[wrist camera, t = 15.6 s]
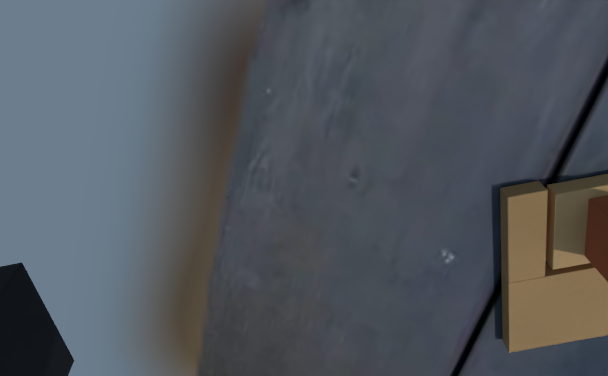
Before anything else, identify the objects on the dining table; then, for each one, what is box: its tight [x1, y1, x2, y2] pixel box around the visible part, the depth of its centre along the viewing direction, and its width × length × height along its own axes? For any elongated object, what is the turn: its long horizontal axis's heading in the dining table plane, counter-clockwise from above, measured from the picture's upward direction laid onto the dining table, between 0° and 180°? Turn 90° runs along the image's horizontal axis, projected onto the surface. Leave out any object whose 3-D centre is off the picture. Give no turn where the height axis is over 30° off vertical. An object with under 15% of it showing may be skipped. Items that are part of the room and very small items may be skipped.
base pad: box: [500, 181, 608, 352], centre depth 50 cm, size 16×18×2 cm
